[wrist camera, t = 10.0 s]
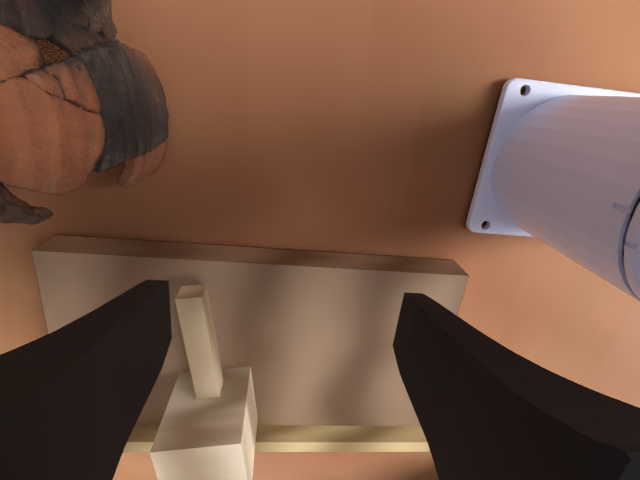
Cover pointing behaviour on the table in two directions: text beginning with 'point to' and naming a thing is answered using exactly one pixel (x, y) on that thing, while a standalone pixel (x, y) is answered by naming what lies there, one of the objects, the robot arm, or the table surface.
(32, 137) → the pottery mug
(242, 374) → the wooden mallet
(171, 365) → the walnut board
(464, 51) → the table surface
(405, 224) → the table surface
